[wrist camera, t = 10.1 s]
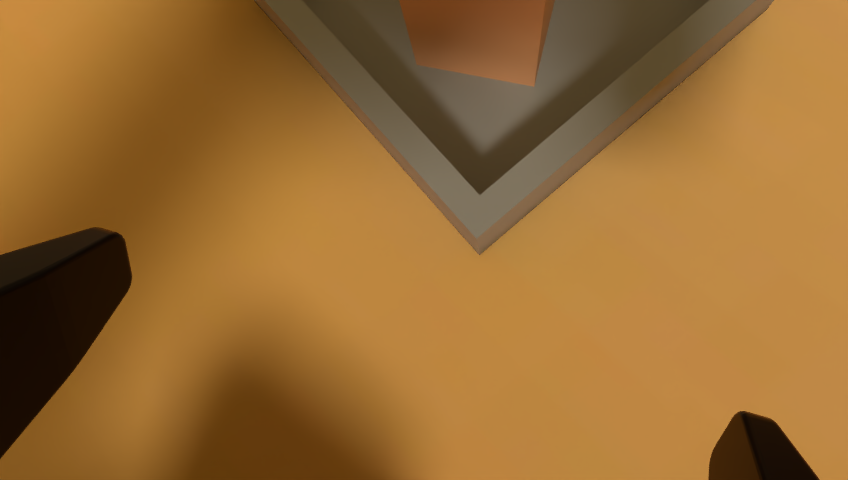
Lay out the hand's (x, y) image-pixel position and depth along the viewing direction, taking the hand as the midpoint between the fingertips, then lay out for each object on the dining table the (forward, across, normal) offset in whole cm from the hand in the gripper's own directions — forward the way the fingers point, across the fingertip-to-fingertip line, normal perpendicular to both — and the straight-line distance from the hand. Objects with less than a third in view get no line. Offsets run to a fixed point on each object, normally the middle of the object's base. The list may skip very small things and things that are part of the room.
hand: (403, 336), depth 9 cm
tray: (+19, +2, 0) cm, 19 cm away
